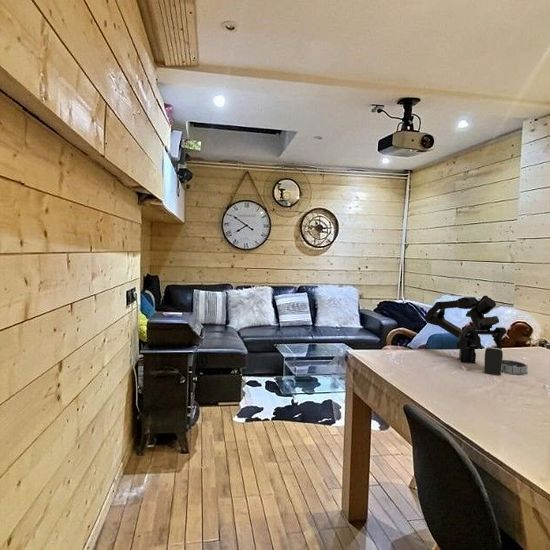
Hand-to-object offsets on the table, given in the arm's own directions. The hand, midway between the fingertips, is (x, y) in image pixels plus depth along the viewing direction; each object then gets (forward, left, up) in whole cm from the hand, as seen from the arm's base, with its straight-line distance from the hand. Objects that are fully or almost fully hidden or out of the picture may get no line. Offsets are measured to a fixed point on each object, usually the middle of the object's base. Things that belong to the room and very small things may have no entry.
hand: (491, 348), depth 187 cm
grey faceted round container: (+10, +5, -10) cm, 15 cm away
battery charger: (0, -2, -10) cm, 11 cm away
